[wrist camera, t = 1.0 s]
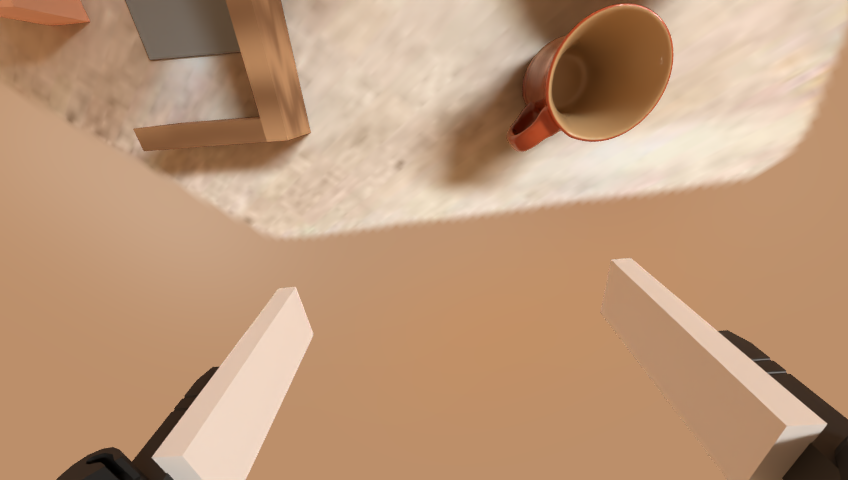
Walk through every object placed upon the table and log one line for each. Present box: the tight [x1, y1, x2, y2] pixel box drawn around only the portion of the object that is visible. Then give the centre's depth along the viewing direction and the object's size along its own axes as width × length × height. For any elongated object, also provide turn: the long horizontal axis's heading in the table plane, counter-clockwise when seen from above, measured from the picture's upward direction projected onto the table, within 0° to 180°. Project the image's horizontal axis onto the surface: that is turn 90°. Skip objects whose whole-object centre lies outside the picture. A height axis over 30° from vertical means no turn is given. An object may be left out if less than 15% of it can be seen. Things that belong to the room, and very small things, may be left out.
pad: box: [125, 0, 241, 60], centre depth 28 cm, size 8×11×1 cm
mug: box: [506, 3, 673, 152], centre depth 27 cm, size 12×9×10 cm
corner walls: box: [134, 0, 311, 151], centre depth 26 cm, size 20×14×6 cm
